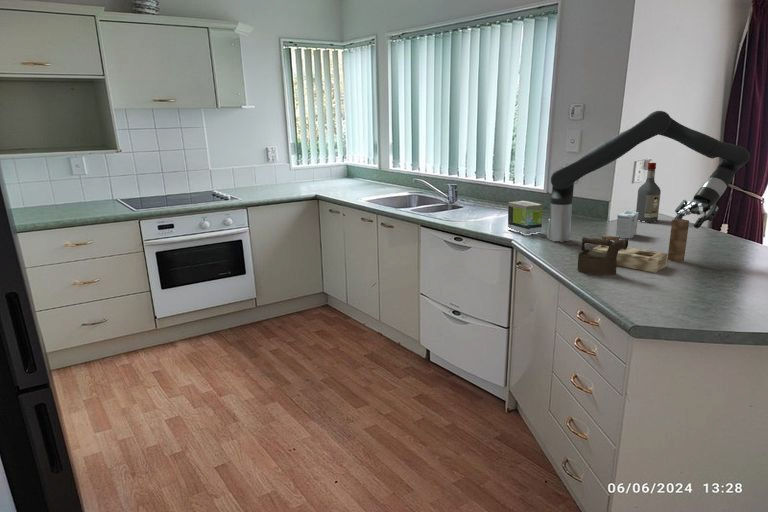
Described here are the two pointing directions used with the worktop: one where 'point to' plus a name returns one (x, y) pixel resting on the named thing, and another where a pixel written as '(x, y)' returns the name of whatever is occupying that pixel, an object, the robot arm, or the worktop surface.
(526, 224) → the tea box
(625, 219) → the light bulb box
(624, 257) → the pine toolbox
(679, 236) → the walnut key
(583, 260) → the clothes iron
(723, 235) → the worktop surface
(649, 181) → the liquor
